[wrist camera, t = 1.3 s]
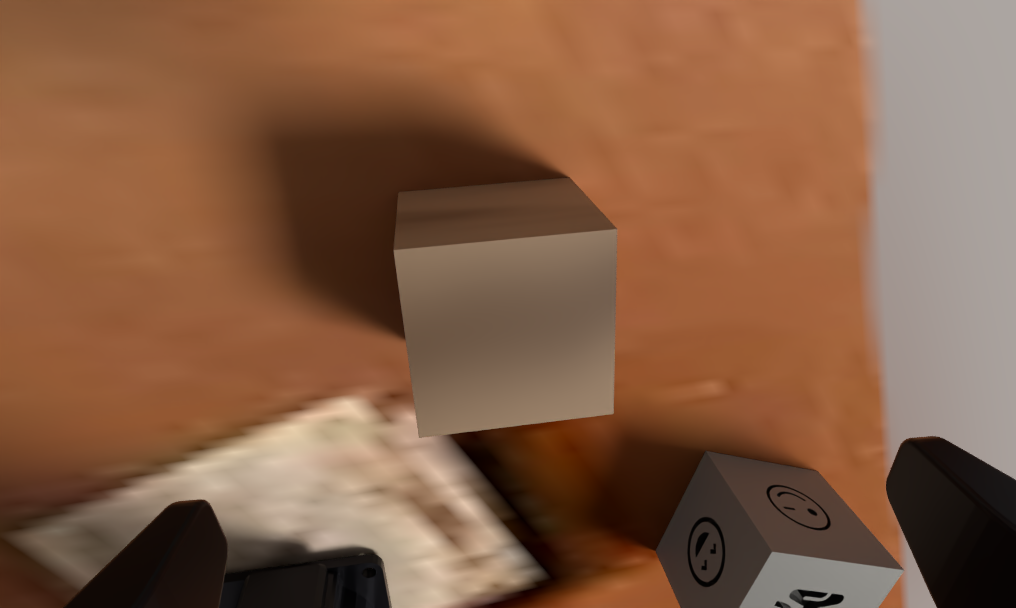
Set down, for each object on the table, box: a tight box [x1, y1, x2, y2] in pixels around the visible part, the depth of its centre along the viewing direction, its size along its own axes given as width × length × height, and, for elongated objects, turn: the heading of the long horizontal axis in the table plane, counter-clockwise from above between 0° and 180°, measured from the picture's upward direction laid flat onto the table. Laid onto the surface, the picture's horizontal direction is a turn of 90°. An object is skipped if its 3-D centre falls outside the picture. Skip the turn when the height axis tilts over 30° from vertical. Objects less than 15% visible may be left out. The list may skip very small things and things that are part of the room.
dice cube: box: [656, 451, 904, 608], centre depth 23 cm, size 5×5×5 cm
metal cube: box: [394, 177, 617, 438], centre depth 18 cm, size 5×5×5 cm
